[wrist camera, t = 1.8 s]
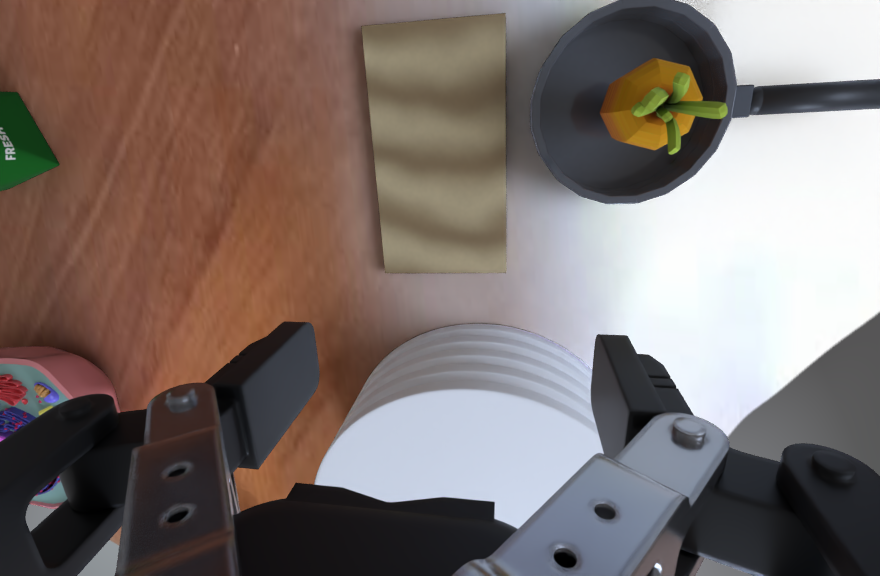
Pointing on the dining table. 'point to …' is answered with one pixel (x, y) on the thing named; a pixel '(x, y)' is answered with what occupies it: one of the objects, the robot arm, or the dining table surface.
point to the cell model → (44, 394)
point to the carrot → (656, 105)
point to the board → (439, 142)
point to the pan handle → (806, 97)
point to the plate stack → (468, 422)
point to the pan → (585, 86)
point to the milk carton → (20, 144)
